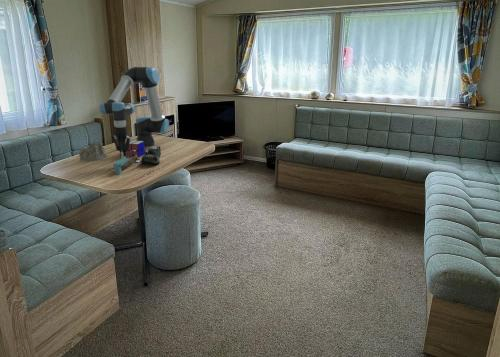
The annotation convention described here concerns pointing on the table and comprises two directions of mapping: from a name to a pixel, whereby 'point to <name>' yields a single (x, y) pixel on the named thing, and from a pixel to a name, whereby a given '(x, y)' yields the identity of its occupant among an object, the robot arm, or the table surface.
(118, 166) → the block
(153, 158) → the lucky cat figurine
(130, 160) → the walnut link
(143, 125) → the robot arm
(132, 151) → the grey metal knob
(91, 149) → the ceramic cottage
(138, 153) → the puzzle cube
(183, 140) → the table surface
